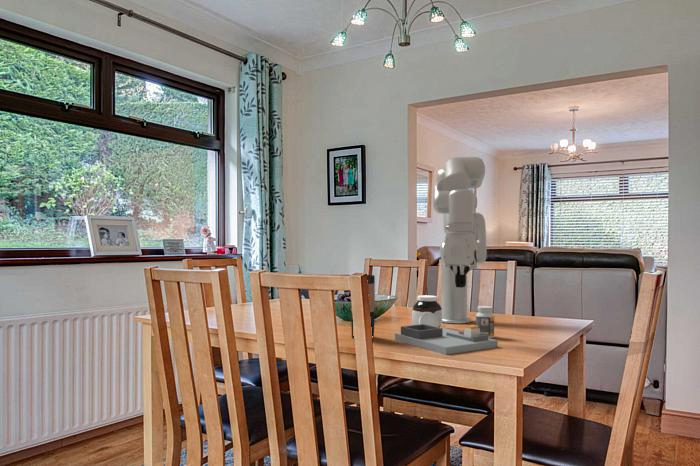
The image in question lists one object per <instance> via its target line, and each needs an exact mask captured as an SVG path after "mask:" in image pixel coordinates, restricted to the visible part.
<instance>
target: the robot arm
mask: <svg viewBox="0 0 700 466" xmlns="http://www.w3.org/2000/svg"><path fill="white" fill-rule="evenodd" d="M485 174H486V167H485V163H484V161H483V159H482V158H481V157H479V156H477V157H476V156H456V157H451V158H450V159H448V160H447V161H446V162H445V165H444V167H442V168H440V169H439V170H438V171H437V173H436V184H435V185H434V188H433V192H432V193H433V194H432V206H433V209H434V211H435V212H436V213H438V214H443V217H442V218H443V219H442V221H443V232H444V234H445V238H444V241H442V242H441V243H440V245H439V254H440V262H441V309H442V323H445V324H458V325H459V324H469V323H471V322H472V318H470V317H468V274H469V272H470V271H473V270H476V269H477V268H478V266H477V265H482V264H484V263H485V262H486V260H487V254H488V253H487V232H486V229H487V228H486V219H485V217H484V215H483V213H479V212H475V210H476V209H477V208H478V197H477V195H476V194H475V193H474V192H473V191H472V190H470V189H478V188H480V187H482V184H483V181H484V179H485Z"/></svg>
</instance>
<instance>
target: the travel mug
mask: <svg viewBox="0 0 700 466" xmlns="http://www.w3.org/2000/svg"><path fill="white" fill-rule="evenodd" d="M366 275H367V280H368V284H369V289H370V290H369V304H370V316H371V327H372V336H373V339H374V336H375V320H376V319H375V315H376V314H375V313H376V311H375V310H376V308H375V307H376V306H375V305H376V303H375V301H376V296H375V295H376V294H375V293H376V291H375V290H376V289H375V286H376V285H375V283H376V281H375V274H374V275H373V274H366ZM350 317H351V318H350V321H351V324H350V326H351V339H353V338H354V336H353V320H352V308H351V307H350Z"/></svg>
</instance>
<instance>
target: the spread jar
mask: <svg viewBox="0 0 700 466" xmlns="http://www.w3.org/2000/svg"><path fill="white" fill-rule="evenodd" d="M416 298H417V302H416V303H414V305H413V306H412V312H411V313H412V314H411V317H412V318H411V319H412V321H411V323H412V325H420V324H425V325H430V326H434V327H438V328H441V326H442V323H443V322H442V309H441V308H442V305H441V304H440V303H439V302H438V297H437V296H436V295H427V294H425V295H424V294H423V295H417V297H416Z"/></svg>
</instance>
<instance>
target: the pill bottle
mask: <svg viewBox="0 0 700 466" xmlns="http://www.w3.org/2000/svg"><path fill="white" fill-rule="evenodd" d="M475 325H476V326H478V328H480V335H485V334H486V335H488V338H489V339H493V338H495V315H494V314H493V306H489V305H479V306H477V313H476V315H475Z"/></svg>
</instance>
